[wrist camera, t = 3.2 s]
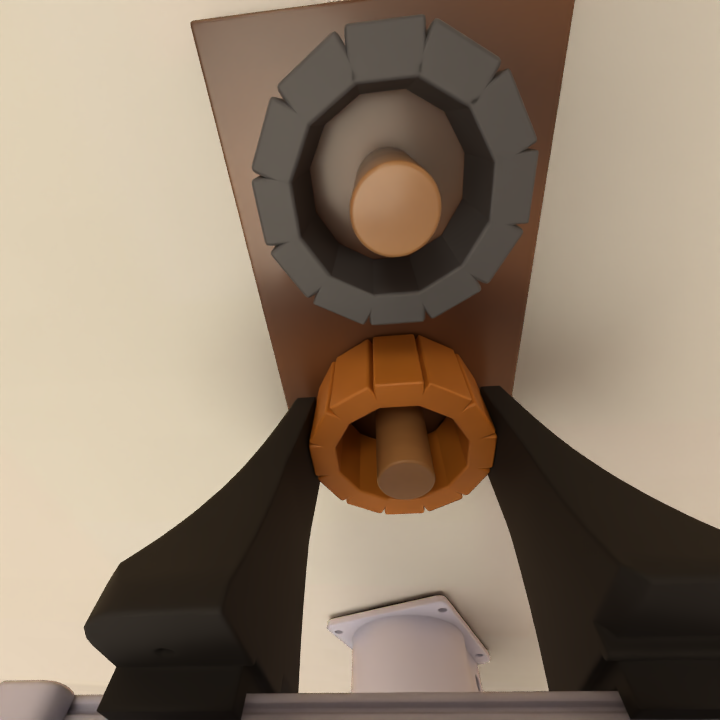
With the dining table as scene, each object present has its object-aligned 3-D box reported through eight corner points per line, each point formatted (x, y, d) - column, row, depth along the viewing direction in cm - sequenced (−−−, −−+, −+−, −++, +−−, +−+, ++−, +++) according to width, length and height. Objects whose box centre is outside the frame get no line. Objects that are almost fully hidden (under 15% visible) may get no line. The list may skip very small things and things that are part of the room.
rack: (496, 447, 15) (536, 549, 12) (306, 456, 16) (287, 557, 12) (563, -19, 8) (731, -141, 4) (202, 28, 9) (74, -43, 5)
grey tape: (485, 276, 11) (516, 316, 9) (301, 291, 11) (284, 333, 9) (508, 30, 8) (562, -5, 6) (257, 60, 8) (216, 38, 6)
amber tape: (480, 328, 12) (507, 377, 9) (469, 452, 14) (487, 511, 12) (308, 340, 12) (294, 390, 10) (330, 459, 15) (324, 517, 13)
